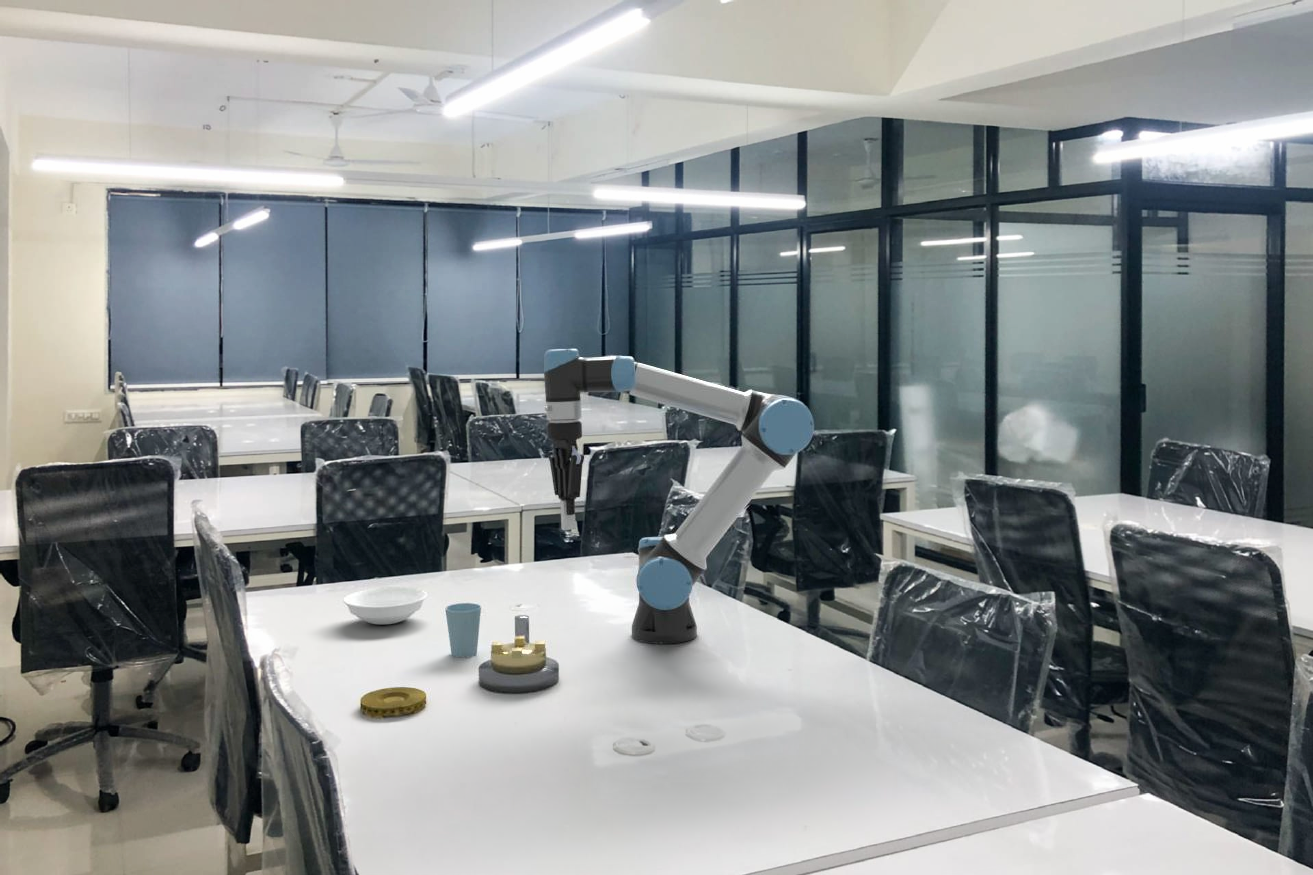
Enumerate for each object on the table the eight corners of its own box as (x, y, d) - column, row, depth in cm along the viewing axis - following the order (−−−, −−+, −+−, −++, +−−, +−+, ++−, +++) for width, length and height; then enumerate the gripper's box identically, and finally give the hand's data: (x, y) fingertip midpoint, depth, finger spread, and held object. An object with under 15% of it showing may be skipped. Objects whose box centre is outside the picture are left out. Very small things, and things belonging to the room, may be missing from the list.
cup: (486, 656, 234) (485, 609, 233) (451, 660, 231) (449, 613, 230) (477, 647, 241) (476, 601, 240) (443, 651, 238) (441, 605, 237)
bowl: (390, 607, 277) (390, 583, 276) (444, 619, 265) (444, 594, 264) (326, 624, 261) (325, 599, 260) (380, 637, 249) (380, 610, 248)
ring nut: (545, 684, 212) (544, 639, 211) (489, 685, 211) (488, 640, 211) (548, 655, 231) (548, 614, 230) (497, 656, 230) (496, 615, 229)
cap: (551, 665, 227) (551, 650, 227) (565, 689, 212) (565, 672, 211) (475, 672, 223) (474, 656, 223) (483, 697, 208) (482, 679, 207)
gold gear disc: (356, 703, 206) (356, 691, 205) (419, 694, 210) (419, 683, 210) (365, 723, 195) (365, 711, 194) (432, 714, 199) (431, 702, 199)
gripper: (535, 420, 236) (539, 527, 238) (562, 423, 224) (566, 535, 227) (565, 418, 239) (570, 523, 242) (593, 421, 228) (598, 531, 231)
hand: (568, 529), depth 234 cm, fingers closed
